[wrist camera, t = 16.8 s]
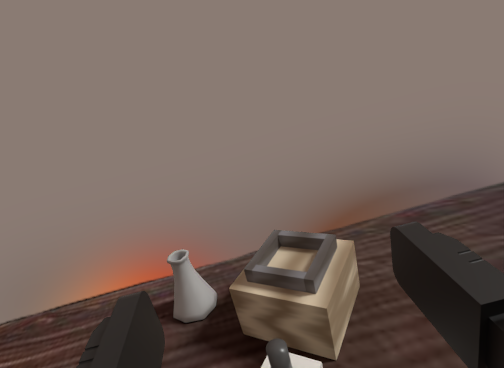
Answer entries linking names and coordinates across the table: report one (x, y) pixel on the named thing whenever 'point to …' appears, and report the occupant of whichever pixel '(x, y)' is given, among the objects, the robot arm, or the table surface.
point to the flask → (190, 290)
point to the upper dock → (299, 291)
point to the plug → (286, 357)
